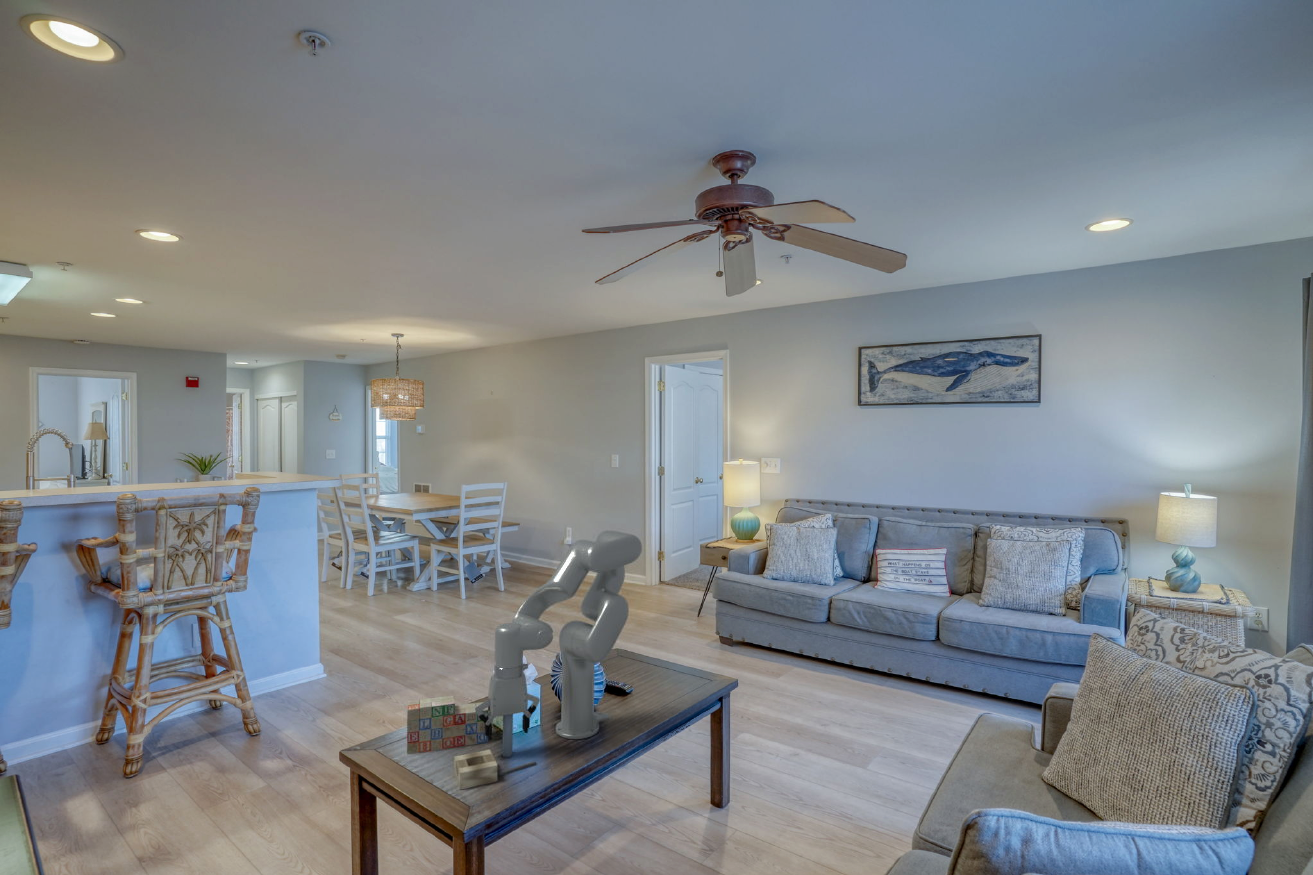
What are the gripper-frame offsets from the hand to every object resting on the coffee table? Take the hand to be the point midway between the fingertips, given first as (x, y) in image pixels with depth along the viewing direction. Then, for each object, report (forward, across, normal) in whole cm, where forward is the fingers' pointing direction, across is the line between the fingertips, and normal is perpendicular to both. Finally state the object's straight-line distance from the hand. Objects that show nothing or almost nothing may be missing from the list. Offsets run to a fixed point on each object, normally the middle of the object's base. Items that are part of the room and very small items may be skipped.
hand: (507, 734), depth 171 cm
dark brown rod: (+5, -1, +9) cm, 11 cm away
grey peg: (+5, 0, 0) cm, 5 cm away
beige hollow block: (+6, +10, +8) cm, 14 cm away
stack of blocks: (+6, +13, -13) cm, 20 cm away
